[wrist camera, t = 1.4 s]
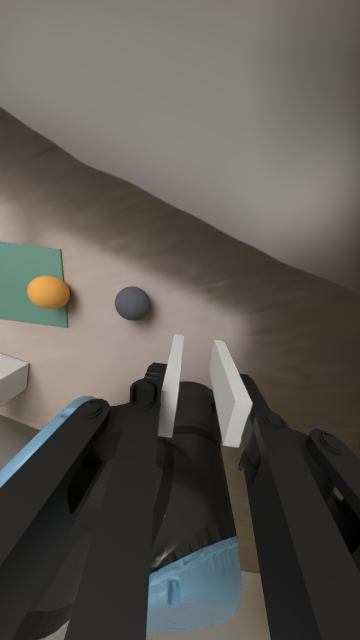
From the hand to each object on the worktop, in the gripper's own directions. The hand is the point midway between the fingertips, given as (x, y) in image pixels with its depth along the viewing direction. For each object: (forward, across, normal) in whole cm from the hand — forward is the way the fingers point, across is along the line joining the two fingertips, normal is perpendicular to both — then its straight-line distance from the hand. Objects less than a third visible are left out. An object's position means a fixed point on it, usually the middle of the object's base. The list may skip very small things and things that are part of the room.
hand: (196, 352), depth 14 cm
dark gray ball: (+14, +10, 0) cm, 17 cm away
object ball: (+14, +24, 0) cm, 28 cm away
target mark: (+17, +30, 0) cm, 35 cm away
